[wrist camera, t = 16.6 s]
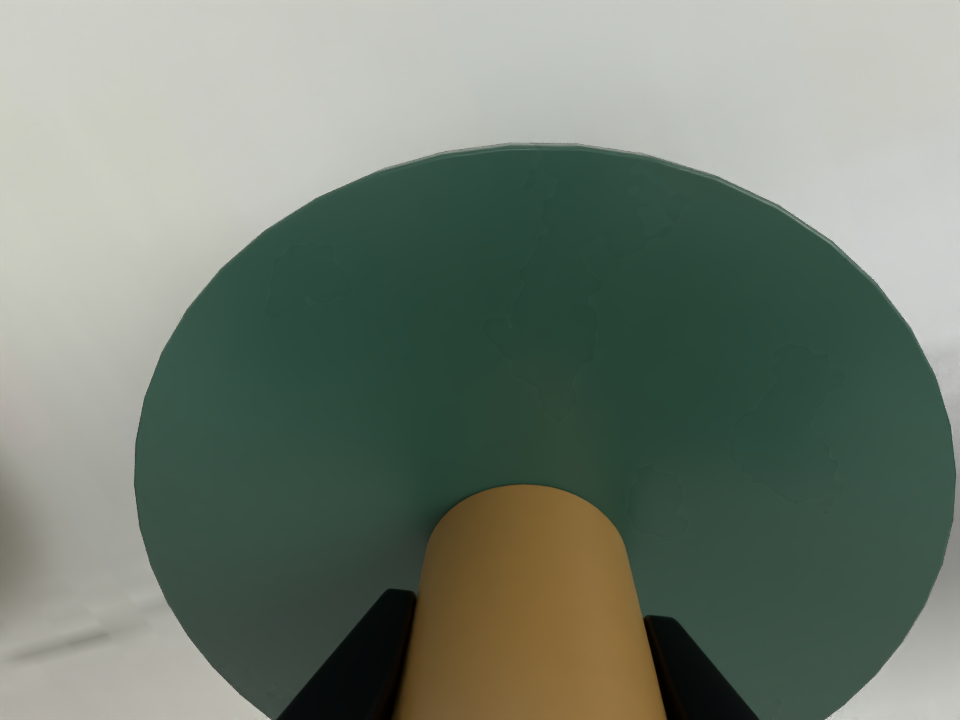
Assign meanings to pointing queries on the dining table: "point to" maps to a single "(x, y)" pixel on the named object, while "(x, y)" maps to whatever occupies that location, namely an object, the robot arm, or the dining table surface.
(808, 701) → the tin lid
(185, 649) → the dining table surface
